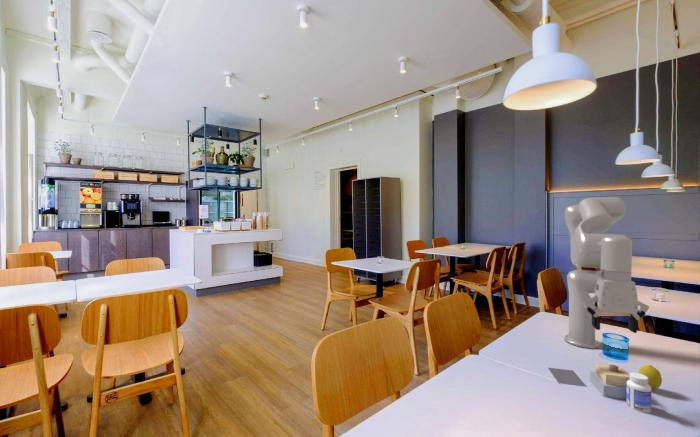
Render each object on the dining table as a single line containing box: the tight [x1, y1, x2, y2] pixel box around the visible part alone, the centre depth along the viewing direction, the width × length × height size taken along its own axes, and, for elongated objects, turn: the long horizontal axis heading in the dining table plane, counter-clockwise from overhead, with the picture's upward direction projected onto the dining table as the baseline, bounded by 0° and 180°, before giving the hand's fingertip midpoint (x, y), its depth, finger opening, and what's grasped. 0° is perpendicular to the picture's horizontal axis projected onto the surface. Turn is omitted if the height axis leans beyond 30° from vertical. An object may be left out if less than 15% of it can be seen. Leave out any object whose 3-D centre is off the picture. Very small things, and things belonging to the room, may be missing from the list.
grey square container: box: [589, 371, 627, 400], centre depth 103 cm, size 9×9×4 cm
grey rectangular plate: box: [547, 367, 587, 388], centre depth 111 cm, size 11×8×1 cm
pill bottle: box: [625, 372, 652, 414], centre depth 94 cm, size 5×5×10 cm
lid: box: [594, 363, 630, 387], centre depth 103 cm, size 7×7×4 cm
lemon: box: [638, 364, 663, 390], centre depth 104 cm, size 6×6×8 cm
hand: (614, 329), depth 102 cm, fingers open, 9 cm apart
